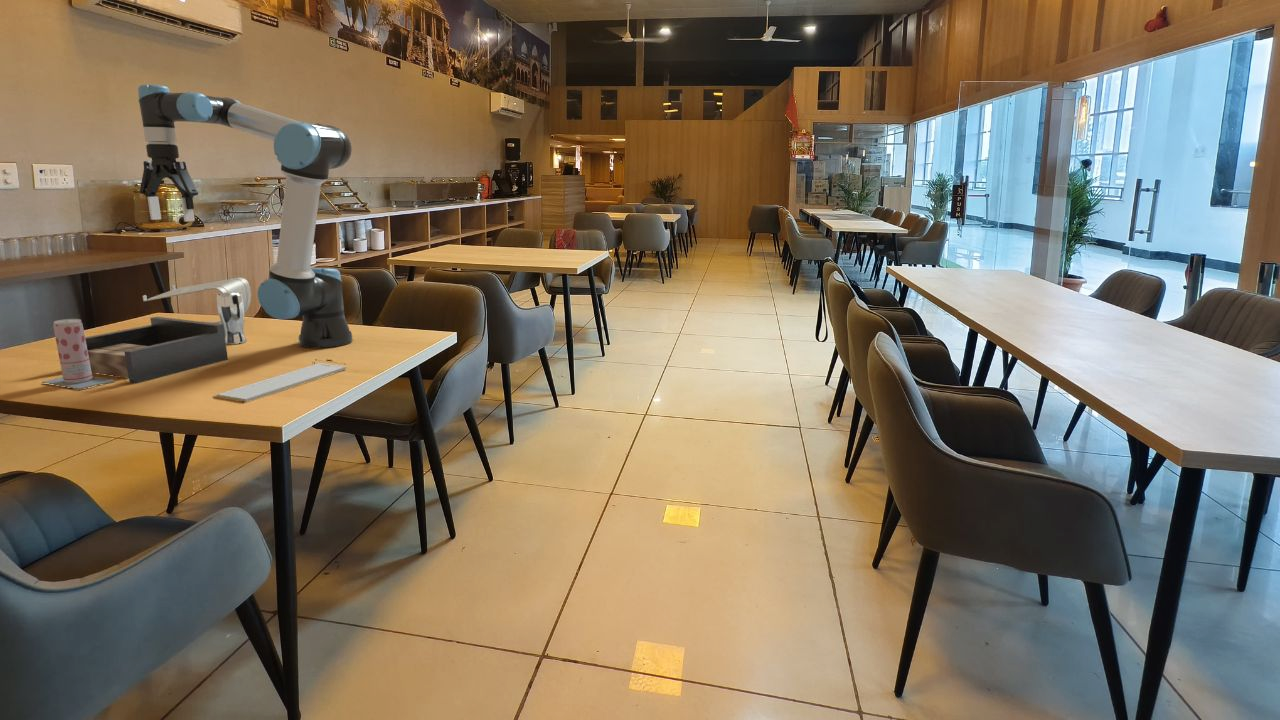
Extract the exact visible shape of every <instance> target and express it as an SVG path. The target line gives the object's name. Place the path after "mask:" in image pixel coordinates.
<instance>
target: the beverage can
mask: <svg viewBox="0 0 1280 720" xmlns="http://www.w3.org/2000/svg"><path fill="white" fill-rule="evenodd" d="M52 324H53V325H52V326H53V327H52V328H53V333H54V337H55V342H56V348H57V352H58V358H59V364H60V369H61V374H62V375H61V376H62V377H63V380H64V382H66V383H68V384H76V383H83V382H87V381H90V380H91V379H92V378H93V377H94V376H93V374H92V372H91V366H90V361H89V356H88V350H87V345H86V340H85V337H86V335H85V329H84V326H83V322H82V319H80V318H67V319H65V318H64V319H58V320H55V321H53V323H52ZM92 376H93V377H92Z"/></svg>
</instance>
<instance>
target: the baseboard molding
mask: <svg viewBox="0 0 1280 720" xmlns="http://www.w3.org/2000/svg"><path fill="white" fill-rule="evenodd" d="M314 360H315V361H317V359H314ZM315 361H313V362H312V361H311V363H312V365H309V366H305V367H302V368H299V369H296V370H293V371H290V372H286V373H283V374H279V375H276V376H272V377H270V378H267V379H263V380H260V381H256V382H253V383H250V384H246V385H243V386H240V387H237V388H233V389H230V390H227V391H224V392H221V393H217V394H215V395H212V398H216V397H219V398H218V399H221V398H225V399H224V400H227V399H231V400H230V401H233V400H238V401H237V402H239V401H244V402H243V403H245V402H246V403H248V402H247V401H249V402H251V401H250V400H252V401H255V400H254V399H256V398H259V399H261V398H260V397H262V398H264V397H263V396H265V397H267V396H266V395H268V396H270V395H269V394H271V395H273V393H274V394H276V392H277V393H280V392H282V390H283V391H285V390H284V389H286V390H288V389H287V388H289V389H291V388H290V387H292V388H294V387H293V386H295V387H297V386H296V385H299V384H301V383H304V382H307V381H311V380H314V379H317V378H320V377H323V376H326V375H329V376H331V375H330V374H332V373H335V374H337V373H336V372H338V373H340V372H339V371H341V372H343V371H342V370H345V369H346V370H347V366H345V365H344V363H343V362H341V363H340V365H336V362H334V360H332V359H325V362H328V363H329V362H331V363H335V365H334V364H327V363H322V362H321V361H322V360H319V359H318V361H320V363H316V362H315ZM314 364H315V365H314ZM341 364H342V365H341ZM346 370H345V371H346ZM332 375H333V374H332ZM326 377H327V376H326ZM323 378H324V377H323ZM320 379H321V378H320ZM317 380H318V379H317ZM314 381H315V380H314ZM311 382H312V381H311ZM299 386H300V385H299ZM279 391H280V392H279ZM256 400H257V399H256Z"/></svg>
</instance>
